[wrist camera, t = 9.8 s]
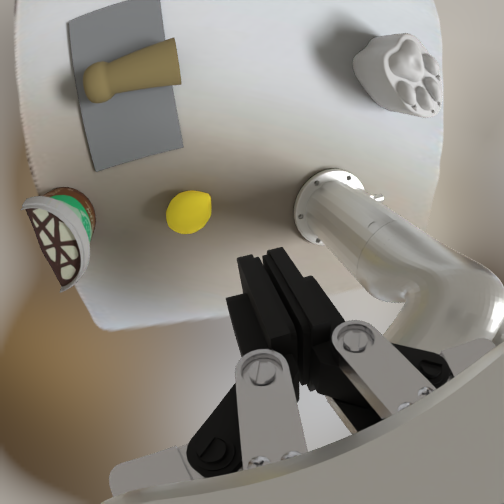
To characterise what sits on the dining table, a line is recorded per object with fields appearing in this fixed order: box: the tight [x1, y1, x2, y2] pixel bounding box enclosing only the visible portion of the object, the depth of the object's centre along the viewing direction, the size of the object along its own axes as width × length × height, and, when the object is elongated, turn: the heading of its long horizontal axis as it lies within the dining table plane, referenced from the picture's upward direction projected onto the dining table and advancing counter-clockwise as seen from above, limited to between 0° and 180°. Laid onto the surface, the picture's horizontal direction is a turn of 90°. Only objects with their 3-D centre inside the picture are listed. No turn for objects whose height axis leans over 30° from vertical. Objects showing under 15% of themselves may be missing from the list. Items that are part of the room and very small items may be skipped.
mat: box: [69, 0, 184, 172], centre depth 27 cm, size 12×22×1 cm, turn 6°
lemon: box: [166, 190, 211, 234], centre depth 36 cm, size 7×5×5 cm
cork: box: [83, 38, 181, 103], centre depth 25 cm, size 6×6×11 cm
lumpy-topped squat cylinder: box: [353, 33, 443, 118], centre depth 31 cm, size 10×13×9 cm
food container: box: [21, 187, 96, 292], centre depth 31 cm, size 12×6×10 cm, turn 7°
